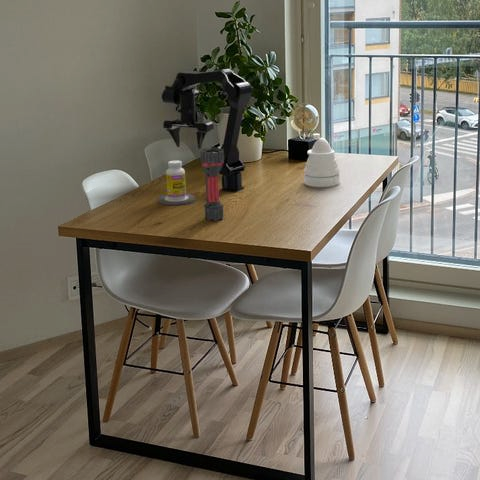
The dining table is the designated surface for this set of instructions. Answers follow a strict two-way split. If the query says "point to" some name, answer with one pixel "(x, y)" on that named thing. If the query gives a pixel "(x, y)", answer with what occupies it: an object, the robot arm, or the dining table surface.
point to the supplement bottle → (175, 181)
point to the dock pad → (186, 200)
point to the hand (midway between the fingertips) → (189, 147)
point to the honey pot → (321, 165)
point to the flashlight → (212, 181)
